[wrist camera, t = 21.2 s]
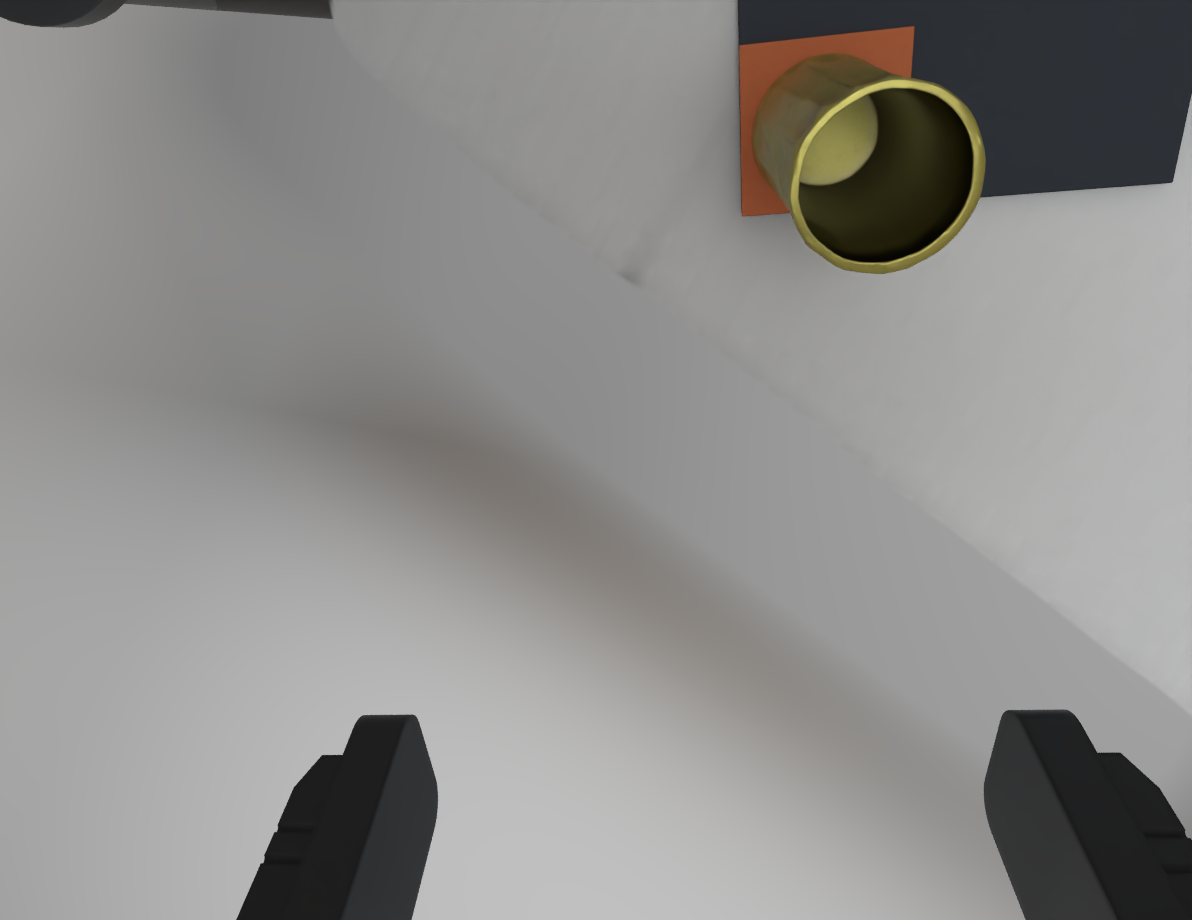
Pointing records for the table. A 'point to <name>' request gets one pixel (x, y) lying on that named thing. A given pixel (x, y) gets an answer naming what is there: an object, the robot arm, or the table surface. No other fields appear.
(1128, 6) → the mat
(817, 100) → the vase
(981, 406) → the table surface
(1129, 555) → the table surface
